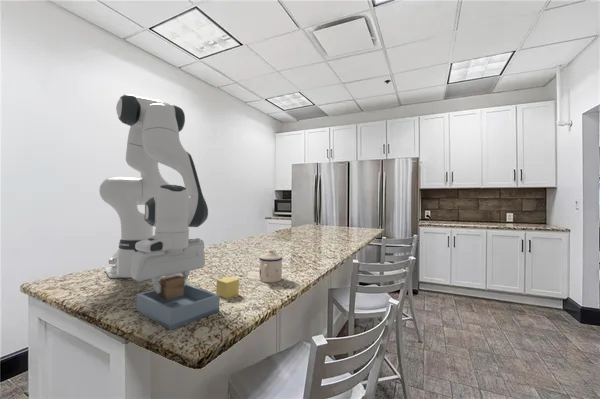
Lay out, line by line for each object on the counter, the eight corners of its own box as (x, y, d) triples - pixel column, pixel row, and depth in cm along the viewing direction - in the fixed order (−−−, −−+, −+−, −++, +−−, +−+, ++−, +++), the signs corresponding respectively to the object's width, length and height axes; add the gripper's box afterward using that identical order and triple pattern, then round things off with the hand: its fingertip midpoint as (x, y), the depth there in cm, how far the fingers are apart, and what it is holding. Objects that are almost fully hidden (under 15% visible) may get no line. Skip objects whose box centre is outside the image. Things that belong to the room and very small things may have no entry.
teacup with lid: (263, 275, 112) (264, 247, 112) (284, 277, 110) (285, 248, 110) (252, 284, 100) (252, 252, 100) (275, 286, 98) (276, 254, 98)
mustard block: (216, 295, 88) (216, 279, 88) (228, 291, 92) (229, 276, 92) (226, 298, 85) (226, 282, 85) (238, 294, 89) (238, 279, 89)
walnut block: (157, 295, 77) (158, 277, 77) (174, 290, 81) (175, 274, 81) (166, 299, 74) (167, 281, 74) (183, 294, 78) (184, 277, 78)
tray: (136, 310, 75) (136, 294, 75) (183, 296, 86) (184, 282, 86) (170, 330, 64) (170, 311, 64) (219, 311, 75) (219, 295, 75)
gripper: (198, 236, 88) (197, 279, 88) (128, 244, 71) (127, 296, 71) (209, 238, 84) (208, 283, 84) (139, 247, 68) (138, 302, 68)
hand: (170, 289), depth 78 cm, fingers closed on walnut block, 5 cm apart
